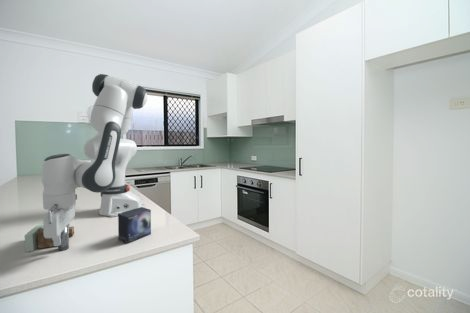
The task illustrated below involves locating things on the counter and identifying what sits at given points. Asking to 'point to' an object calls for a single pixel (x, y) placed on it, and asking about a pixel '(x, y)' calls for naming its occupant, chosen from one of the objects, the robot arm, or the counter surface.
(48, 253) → the counter surface
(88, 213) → the counter surface
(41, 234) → the block
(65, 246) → the dowel
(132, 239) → the small box
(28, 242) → the wall
